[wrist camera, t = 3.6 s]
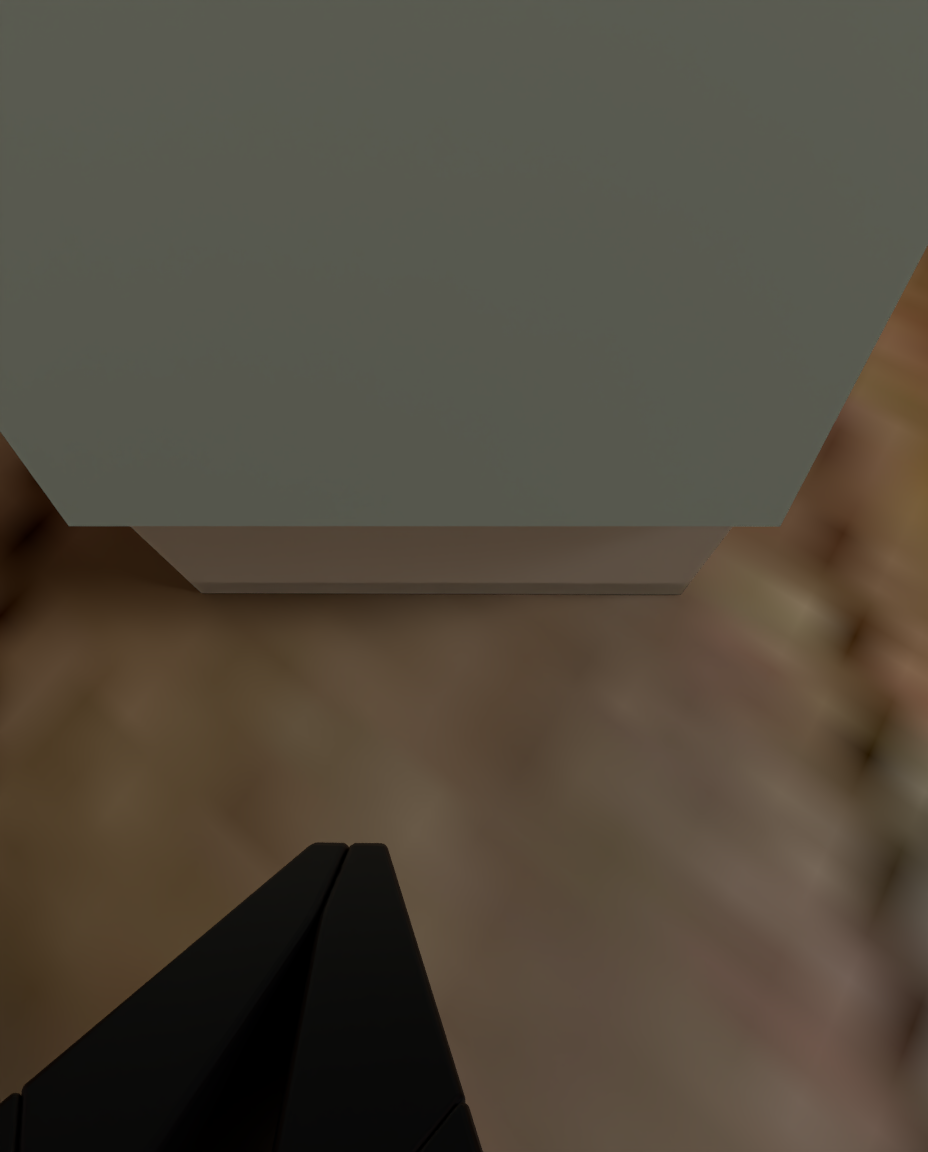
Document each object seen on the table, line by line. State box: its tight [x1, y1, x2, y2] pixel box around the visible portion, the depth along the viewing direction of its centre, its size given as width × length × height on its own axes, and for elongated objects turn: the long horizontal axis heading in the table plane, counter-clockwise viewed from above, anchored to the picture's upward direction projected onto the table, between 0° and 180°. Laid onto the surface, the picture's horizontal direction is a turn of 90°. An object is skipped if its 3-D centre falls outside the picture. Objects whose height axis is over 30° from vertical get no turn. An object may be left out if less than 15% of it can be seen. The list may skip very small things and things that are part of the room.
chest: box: [130, 526, 733, 595], centre depth 22 cm, size 12×16×7 cm
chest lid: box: [0, 0, 928, 526], centre depth 11 cm, size 12×16×1 cm
